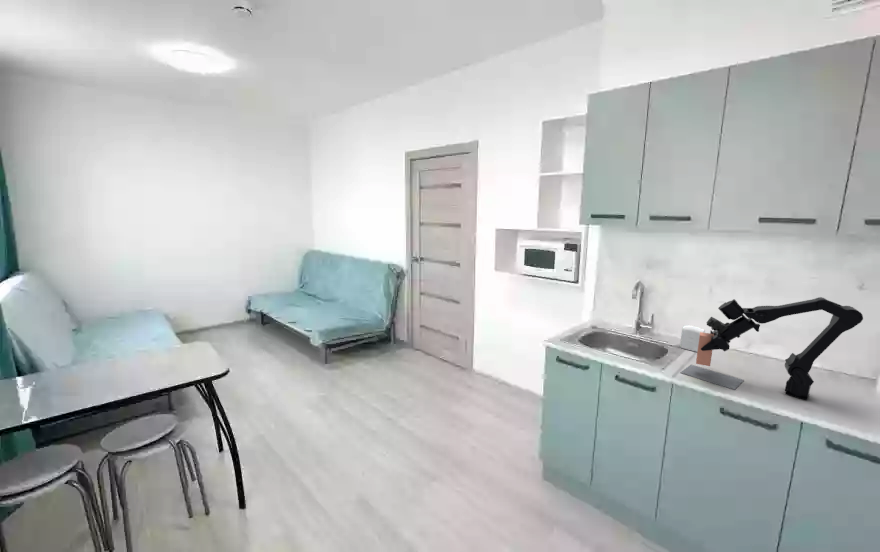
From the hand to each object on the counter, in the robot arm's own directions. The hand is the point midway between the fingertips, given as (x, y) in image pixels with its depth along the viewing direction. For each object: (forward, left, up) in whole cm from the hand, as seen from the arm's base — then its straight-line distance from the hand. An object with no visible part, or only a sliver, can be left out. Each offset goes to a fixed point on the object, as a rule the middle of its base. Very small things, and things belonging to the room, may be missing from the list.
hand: (701, 348), depth 171 cm
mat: (-5, -2, -12) cm, 13 cm away
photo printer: (+12, -30, -13) cm, 35 cm away
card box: (-1, -1, -7) cm, 7 cm away
